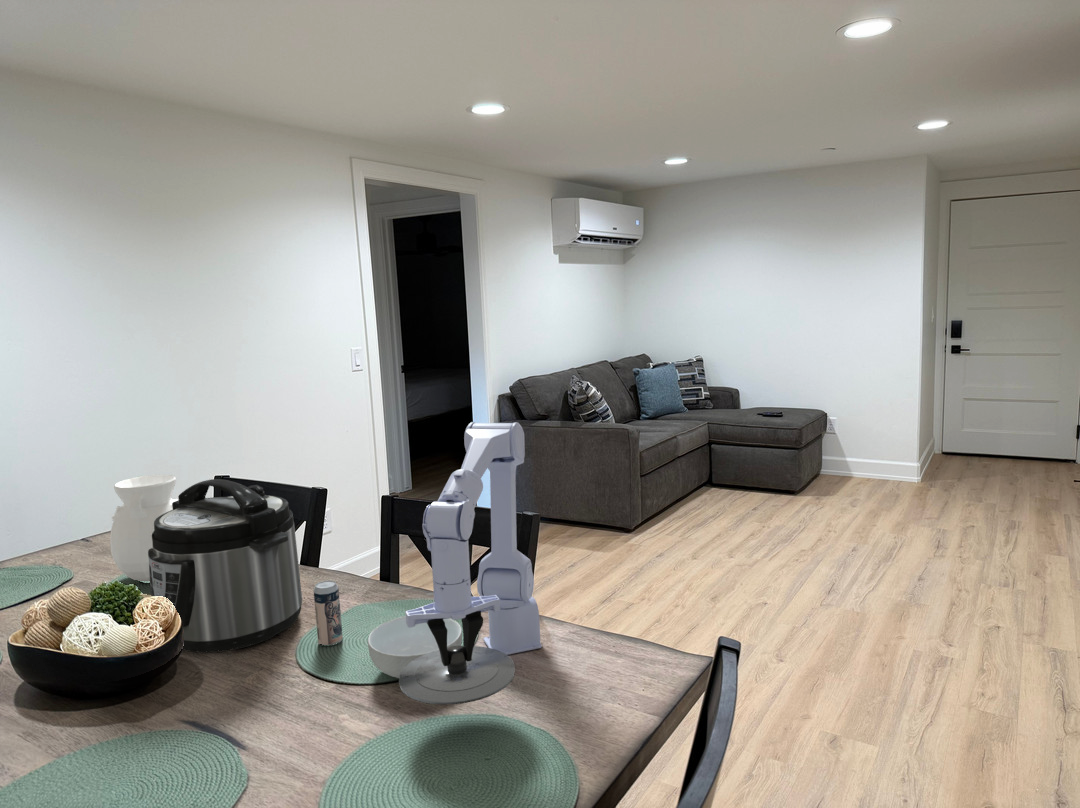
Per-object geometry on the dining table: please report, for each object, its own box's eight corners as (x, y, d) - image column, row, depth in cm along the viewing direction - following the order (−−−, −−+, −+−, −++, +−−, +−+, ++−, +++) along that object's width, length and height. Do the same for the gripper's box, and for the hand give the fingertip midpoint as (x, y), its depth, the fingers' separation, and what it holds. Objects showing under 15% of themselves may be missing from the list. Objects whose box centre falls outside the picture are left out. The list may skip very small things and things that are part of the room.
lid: (496, 642, 128) (495, 618, 127) (530, 688, 111) (529, 661, 111) (391, 663, 122) (389, 638, 122) (410, 715, 105) (408, 687, 105)
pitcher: (134, 566, 195) (123, 474, 192) (207, 561, 197) (197, 469, 194) (101, 594, 177) (87, 492, 173) (181, 588, 179) (170, 487, 175)
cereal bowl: (421, 703, 124) (419, 663, 123) (350, 679, 133) (347, 642, 132) (482, 659, 138) (480, 623, 137) (414, 640, 147) (412, 606, 146)
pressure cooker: (163, 614, 164) (146, 474, 160) (297, 590, 175) (285, 458, 170) (151, 676, 137) (131, 509, 132) (311, 643, 147) (297, 487, 143)
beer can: (336, 648, 145) (331, 589, 143) (313, 647, 146) (308, 588, 144) (347, 637, 149) (342, 580, 148) (325, 636, 150) (320, 579, 149)
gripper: (409, 595, 108) (415, 682, 110) (504, 579, 113) (508, 662, 115) (401, 578, 115) (406, 661, 117) (491, 564, 120) (495, 643, 122)
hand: (456, 660), depth 116 cm, fingers closed on lid, 3 cm apart
